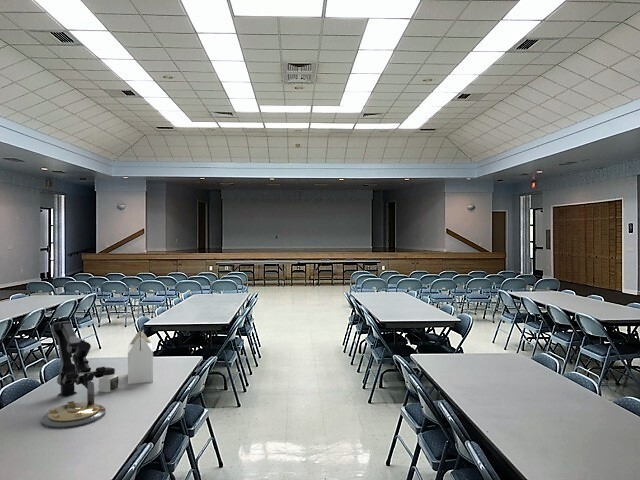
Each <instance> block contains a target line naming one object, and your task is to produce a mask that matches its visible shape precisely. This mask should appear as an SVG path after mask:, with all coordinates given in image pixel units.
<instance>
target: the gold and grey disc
mask: <svg viewBox="0 0 640 480" xmlns="http://www.w3.org/2000/svg"><path fill="white" fill-rule="evenodd" d="M98 405H99V406H100V411H99V412H98V413H97V414H96V415H94V416H92V417H90V418H87V419H83V420H79V421H73V422H53V421H51V420H49V419H48V413H49V411H48V412H46V413H45V414H44V415H43V416H42V417H41V424H42V426H44V427H46V428H51V429H68V428H76V427H80V426H84V425H89V424H91V423H95V422H97V421H100V420H101V419H102V418H103V417H105V415H106V407H105V406H104V405H101V404H98Z"/></svg>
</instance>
